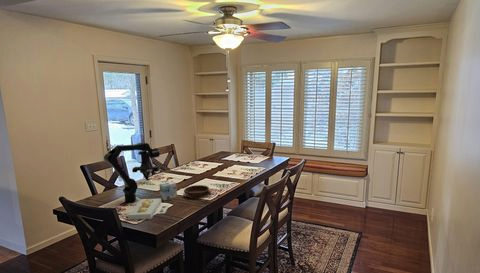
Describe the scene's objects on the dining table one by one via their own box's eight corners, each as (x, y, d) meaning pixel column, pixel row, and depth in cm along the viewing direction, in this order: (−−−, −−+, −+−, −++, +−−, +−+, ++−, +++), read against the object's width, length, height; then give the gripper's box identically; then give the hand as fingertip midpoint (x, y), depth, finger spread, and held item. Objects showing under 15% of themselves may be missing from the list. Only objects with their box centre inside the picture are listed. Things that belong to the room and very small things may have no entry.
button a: (138, 216, 182) (137, 210, 182) (140, 213, 186) (139, 207, 186) (145, 216, 182) (144, 209, 182) (147, 213, 187) (146, 207, 186)
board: (128, 219, 178) (127, 215, 178) (141, 203, 204) (140, 199, 204) (151, 218, 179) (150, 214, 178) (161, 202, 204) (161, 198, 204)
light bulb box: (163, 200, 208) (162, 186, 206) (160, 198, 213) (158, 183, 212) (177, 197, 214) (176, 182, 212) (173, 194, 220) (172, 180, 218)
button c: (144, 207, 196) (144, 201, 196) (146, 205, 200) (146, 199, 200) (151, 207, 196) (150, 201, 196) (152, 204, 200) (152, 199, 200)
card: (156, 213, 186) (156, 212, 185) (161, 206, 197) (161, 205, 197) (164, 213, 186) (164, 212, 186) (168, 206, 198) (168, 205, 197)
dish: (204, 200, 205) (204, 194, 204) (177, 197, 213) (177, 191, 212) (215, 192, 221) (215, 186, 220) (190, 190, 229) (189, 183, 228)
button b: (141, 209, 189) (140, 203, 188) (143, 207, 193) (142, 201, 193) (148, 209, 189) (147, 203, 188) (149, 206, 193) (149, 201, 193)
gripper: (128, 162, 206) (130, 184, 208) (155, 161, 206) (157, 183, 209) (133, 159, 217) (135, 179, 219) (159, 158, 217) (161, 178, 220)
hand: (147, 180), depth 217 cm, fingers closed
